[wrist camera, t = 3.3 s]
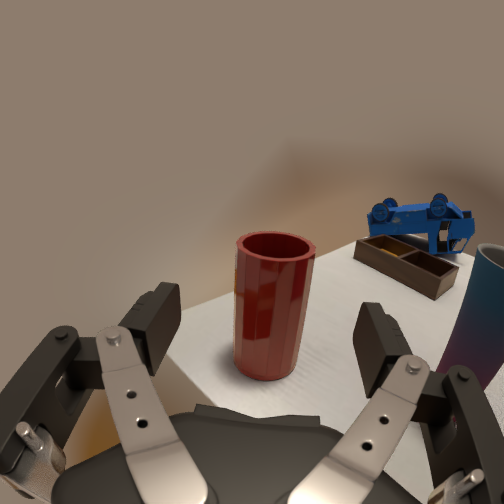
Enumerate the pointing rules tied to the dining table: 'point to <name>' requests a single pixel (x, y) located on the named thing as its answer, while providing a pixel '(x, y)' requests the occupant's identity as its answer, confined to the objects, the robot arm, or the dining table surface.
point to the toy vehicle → (423, 222)
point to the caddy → (407, 264)
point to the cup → (480, 319)
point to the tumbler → (270, 302)
